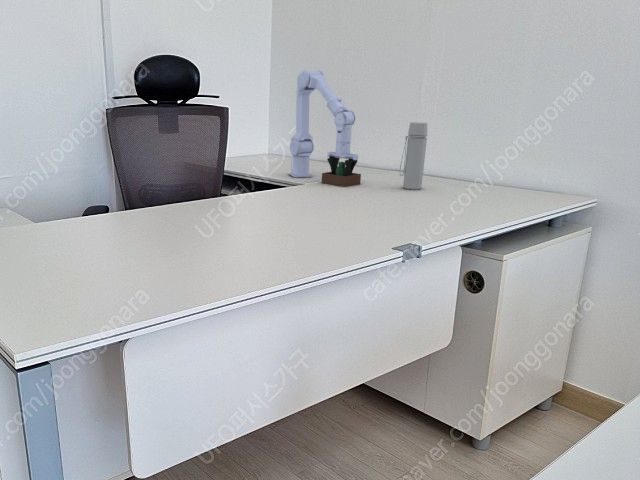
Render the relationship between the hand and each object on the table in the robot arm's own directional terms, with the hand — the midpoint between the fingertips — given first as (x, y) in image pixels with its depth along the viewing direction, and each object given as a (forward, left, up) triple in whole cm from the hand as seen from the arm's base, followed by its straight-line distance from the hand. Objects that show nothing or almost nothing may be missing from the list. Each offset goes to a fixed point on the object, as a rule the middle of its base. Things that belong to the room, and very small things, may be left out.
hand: (341, 176), depth 245 cm
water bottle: (+16, +23, -3) cm, 28 cm away
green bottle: (0, 0, -2) cm, 2 cm away
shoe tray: (0, 0, -3) cm, 3 cm away
